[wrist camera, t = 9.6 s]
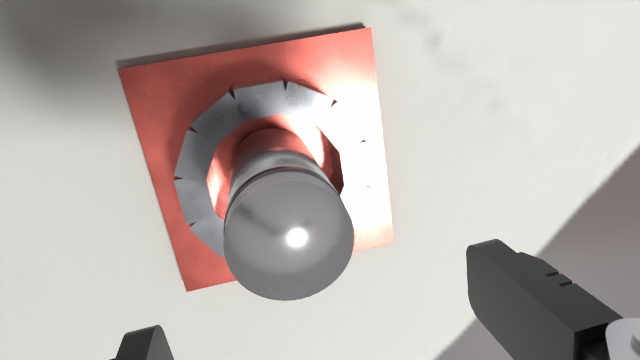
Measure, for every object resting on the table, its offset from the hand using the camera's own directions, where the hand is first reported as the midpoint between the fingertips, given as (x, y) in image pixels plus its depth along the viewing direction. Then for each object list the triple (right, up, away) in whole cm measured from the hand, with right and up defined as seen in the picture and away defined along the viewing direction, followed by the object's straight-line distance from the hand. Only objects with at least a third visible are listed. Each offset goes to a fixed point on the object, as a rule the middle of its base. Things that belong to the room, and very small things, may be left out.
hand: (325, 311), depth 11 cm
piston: (-3, +4, +14) cm, 15 cm away
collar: (-3, +5, +15) cm, 16 cm away
